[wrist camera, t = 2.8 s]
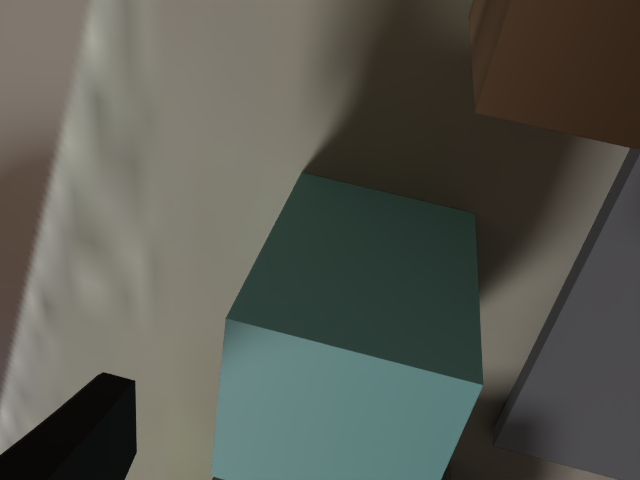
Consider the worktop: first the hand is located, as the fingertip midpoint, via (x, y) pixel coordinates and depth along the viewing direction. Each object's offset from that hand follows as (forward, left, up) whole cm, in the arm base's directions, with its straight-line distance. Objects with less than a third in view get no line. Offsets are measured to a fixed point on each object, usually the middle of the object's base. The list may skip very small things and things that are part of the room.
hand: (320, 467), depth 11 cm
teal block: (0, 0, -7) cm, 7 cm away
